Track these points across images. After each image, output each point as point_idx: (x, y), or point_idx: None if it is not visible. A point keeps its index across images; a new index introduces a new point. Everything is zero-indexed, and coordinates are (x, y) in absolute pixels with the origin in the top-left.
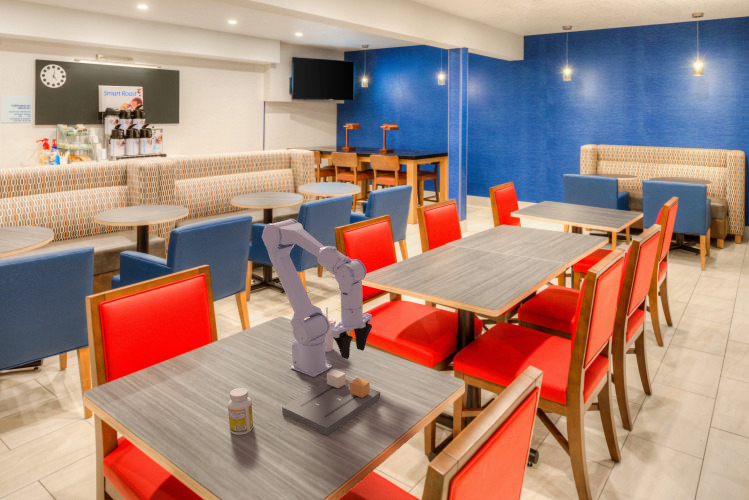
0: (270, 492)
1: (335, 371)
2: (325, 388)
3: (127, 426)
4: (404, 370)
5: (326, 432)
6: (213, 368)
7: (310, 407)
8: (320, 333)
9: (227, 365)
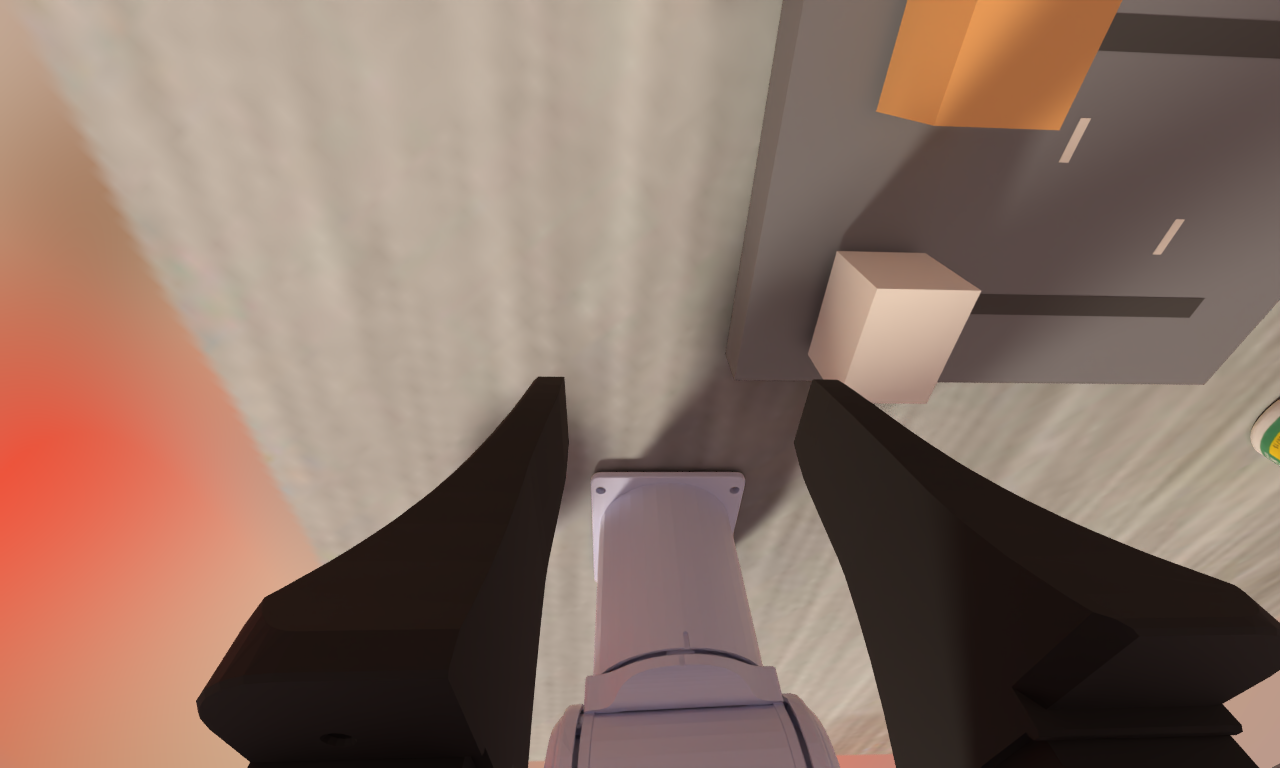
0: None
1: (873, 374)
2: None
3: None
4: (200, 22)
5: None
6: (841, 694)
7: (1215, 247)
8: (672, 739)
9: (805, 686)
